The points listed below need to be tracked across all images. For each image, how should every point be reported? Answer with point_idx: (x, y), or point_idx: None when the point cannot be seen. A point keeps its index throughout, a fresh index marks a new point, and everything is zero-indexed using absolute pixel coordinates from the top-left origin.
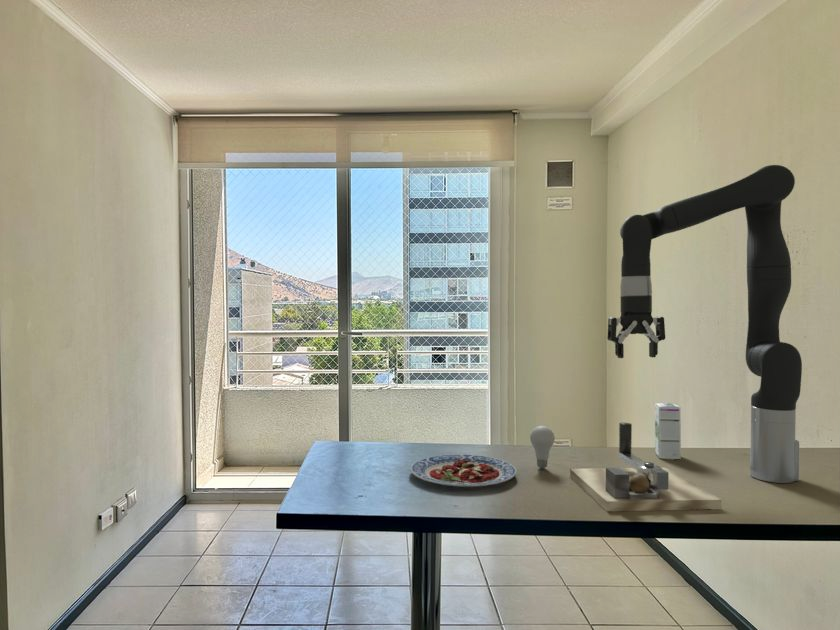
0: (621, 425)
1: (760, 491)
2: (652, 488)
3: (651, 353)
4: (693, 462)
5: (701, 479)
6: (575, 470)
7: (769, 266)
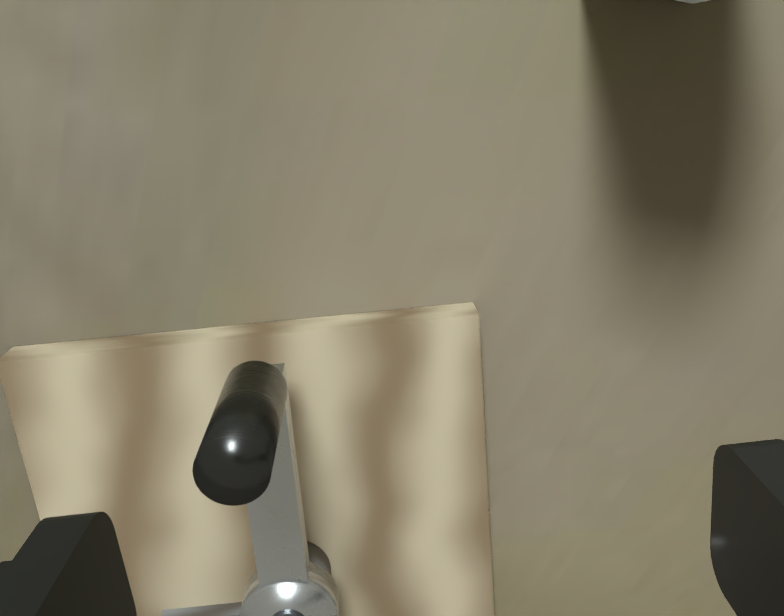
0: (201, 485)
1: None
2: None
3: (745, 560)
4: (735, 55)
5: (606, 346)
6: (19, 388)
7: None
